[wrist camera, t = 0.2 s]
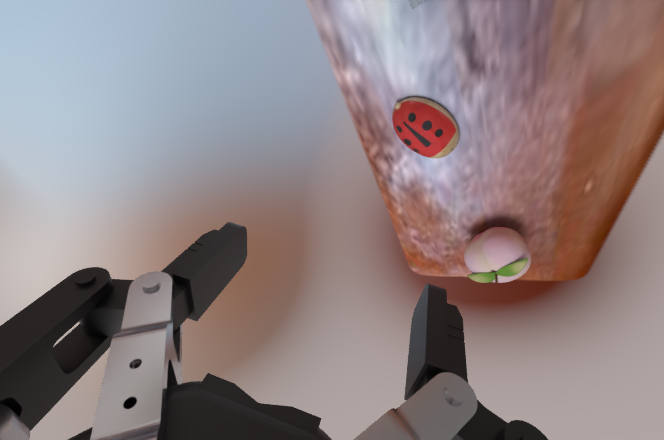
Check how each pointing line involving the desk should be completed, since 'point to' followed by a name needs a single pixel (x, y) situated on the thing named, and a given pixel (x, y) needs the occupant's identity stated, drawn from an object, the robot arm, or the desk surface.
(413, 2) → the mat
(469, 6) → the desk surface
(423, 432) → the robot arm
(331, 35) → the desk surface
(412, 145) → the ladybug figurine
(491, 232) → the decorative fruit
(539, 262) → the desk surface
